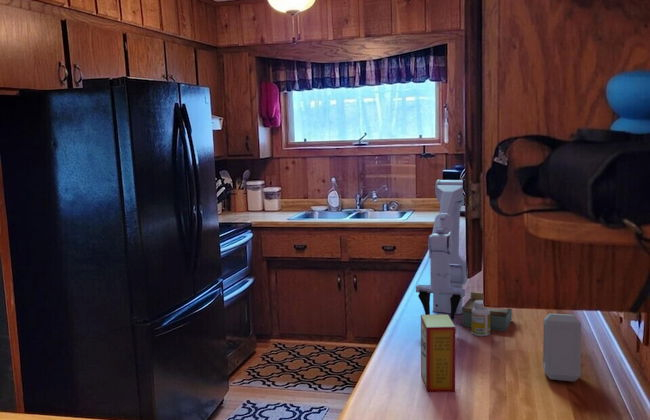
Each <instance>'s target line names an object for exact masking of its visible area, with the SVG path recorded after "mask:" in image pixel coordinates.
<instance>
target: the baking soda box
mask: <svg viewBox="0 0 650 420" xmlns="http://www.w3.org/2000/svg"><path fill="white" fill-rule="evenodd" d="M420 376H421V379H422V382H423V386H424V388H425V391H426V393H455V392H456V325H455V324H454V322H453V320H451V316H449V313H444V314H443V313H442V314H441V313H440V314H439V313H438V314H437V313H435V314H430V315H425V314H421V315H420Z"/></svg>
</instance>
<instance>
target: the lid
mask: <svg viewBox="0 0 650 420" xmlns="http://www.w3.org/2000/svg"><path fill="white" fill-rule="evenodd" d="M476 300H483V293H482V291H474V290H473V291H471V292H470V298H469V299H468V300H467V301H466V302H465V304H464V305H463V307H462V311H466V312H472V309H473V308H474V301H476ZM488 309H489V310H490V314H493V315H502V316H507V314H508V312H509V311H510V309H492V308H488Z"/></svg>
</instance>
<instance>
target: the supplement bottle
mask: <svg viewBox="0 0 650 420" xmlns="http://www.w3.org/2000/svg"><path fill="white" fill-rule="evenodd" d="M471 334H472V335H474V336H477V337H486V336H489V335H490V334H491V329H490V310H489V309H488V308H484V307H483V300H476V301H474V308H473V309H472V327H471Z"/></svg>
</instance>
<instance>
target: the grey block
mask: <svg viewBox="0 0 650 420" xmlns="http://www.w3.org/2000/svg"><path fill="white" fill-rule="evenodd" d="M542 334H543V338H542V339H543V340H542V343H543V346H542V349H543V350H542V355H543V356H542V370H543V371H544V374H545V375H546V376H547V377H548V378H549V379H550V380H554V381H555V380H557V381H565V382H566V381H567V382H576V381H578V380H579V378H581V377H582V322H581V321H580V320H579V319H578V317H576V315H574V314H566V313H565V314H563V313H548V314H546V315H545V317H544V318H543V333H542Z"/></svg>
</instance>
